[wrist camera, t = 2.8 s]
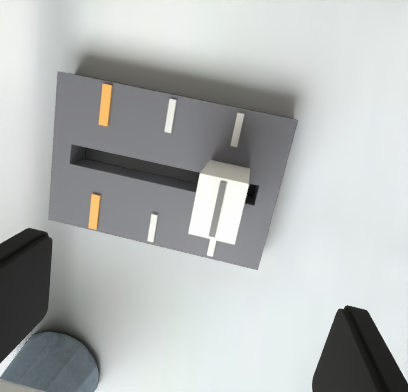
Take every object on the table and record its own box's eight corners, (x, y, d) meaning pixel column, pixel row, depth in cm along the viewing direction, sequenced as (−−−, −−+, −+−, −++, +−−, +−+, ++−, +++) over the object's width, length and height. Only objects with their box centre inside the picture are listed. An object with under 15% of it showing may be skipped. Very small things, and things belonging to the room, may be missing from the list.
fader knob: (238, 211, 28) (234, 245, 21) (203, 203, 28) (187, 234, 21) (249, 164, 27) (248, 184, 20) (212, 155, 27) (199, 173, 20)
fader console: (257, 256, 30) (257, 271, 27) (64, 210, 31) (47, 220, 28) (293, 118, 26) (298, 120, 24) (74, 74, 28) (56, 71, 25)
